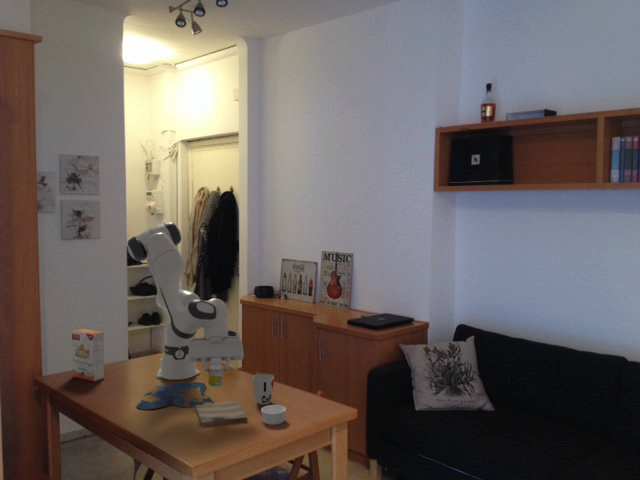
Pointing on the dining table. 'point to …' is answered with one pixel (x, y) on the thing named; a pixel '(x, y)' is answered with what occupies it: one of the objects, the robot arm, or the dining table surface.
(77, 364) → the cracker box
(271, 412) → the ramekin
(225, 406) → the wooden board
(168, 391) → the blue cloth
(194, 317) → the robot arm
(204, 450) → the dining table surface
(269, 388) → the cup
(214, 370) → the supplement bottle
